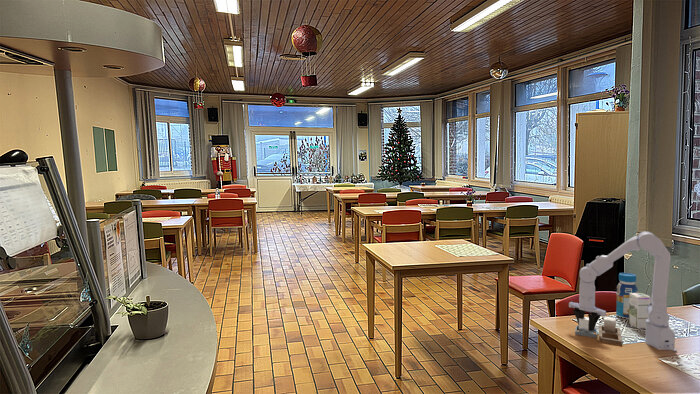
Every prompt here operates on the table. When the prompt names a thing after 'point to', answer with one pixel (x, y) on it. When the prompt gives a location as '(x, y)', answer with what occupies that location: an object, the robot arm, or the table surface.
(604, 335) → the pallet
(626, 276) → the beverage bottle
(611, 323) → the billet
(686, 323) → the table surface
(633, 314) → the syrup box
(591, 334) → the tote
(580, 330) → the loose billet
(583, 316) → the robot arm
